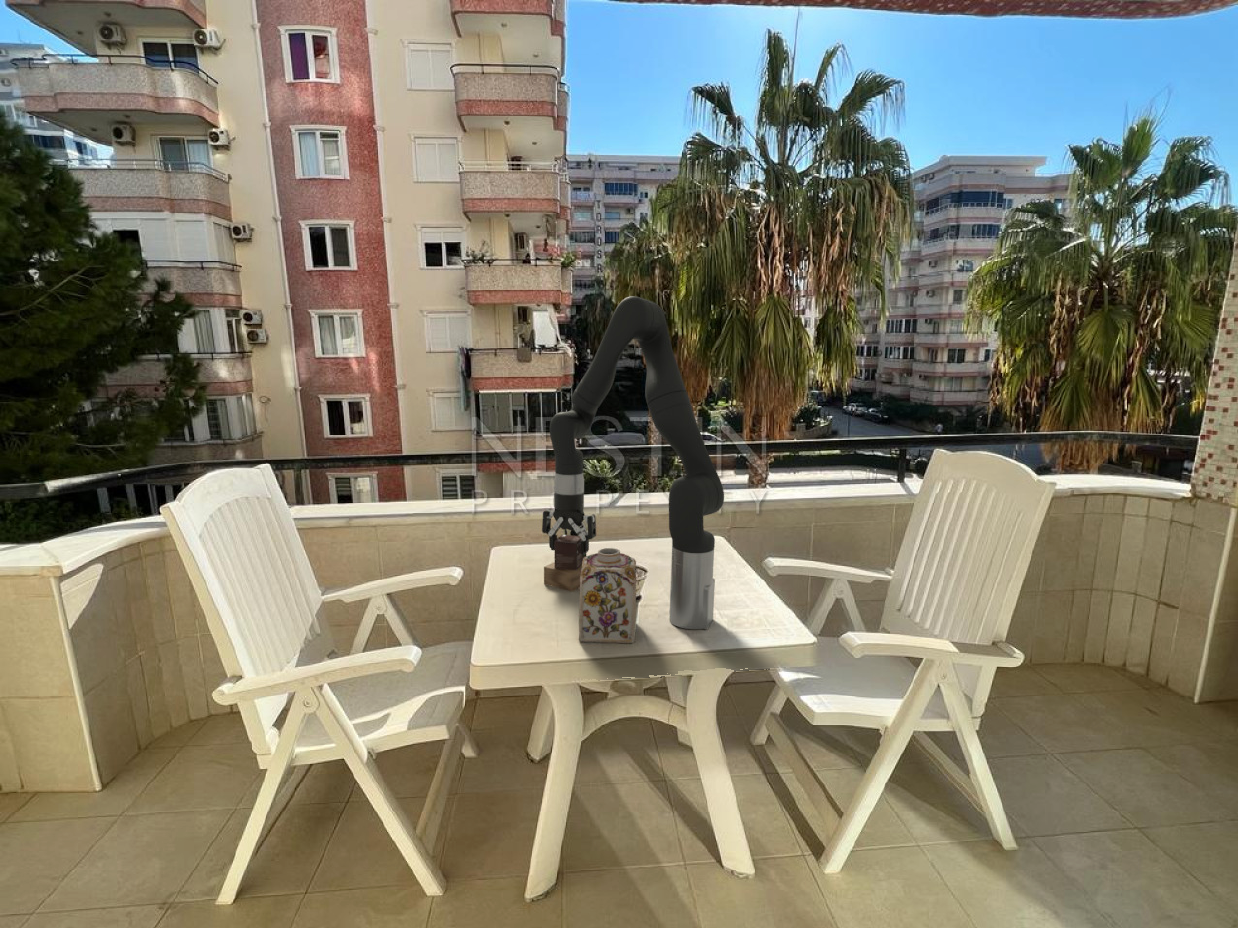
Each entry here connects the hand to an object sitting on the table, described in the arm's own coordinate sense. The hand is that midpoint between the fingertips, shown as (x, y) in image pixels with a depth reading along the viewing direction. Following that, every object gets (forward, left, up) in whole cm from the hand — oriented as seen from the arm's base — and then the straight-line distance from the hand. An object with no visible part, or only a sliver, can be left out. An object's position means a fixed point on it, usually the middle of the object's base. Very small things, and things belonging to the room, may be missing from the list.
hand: (568, 551), depth 153 cm
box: (0, 0, -4) cm, 4 cm away
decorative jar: (-20, +22, -9) cm, 31 cm away
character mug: (+5, -15, -8) cm, 18 cm away
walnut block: (0, 0, -9) cm, 9 cm away
